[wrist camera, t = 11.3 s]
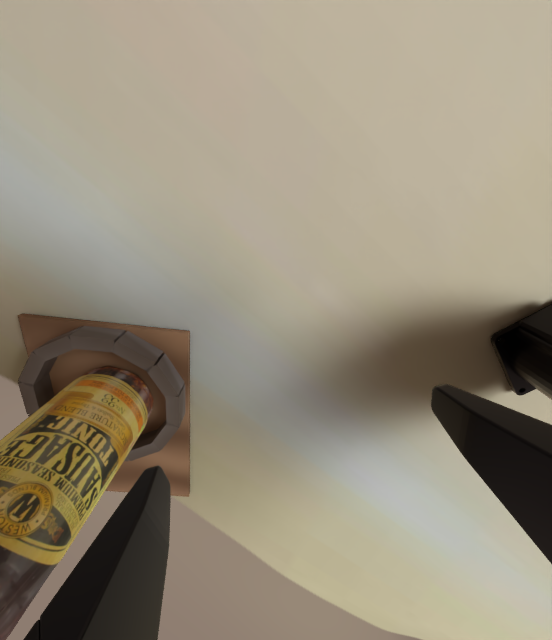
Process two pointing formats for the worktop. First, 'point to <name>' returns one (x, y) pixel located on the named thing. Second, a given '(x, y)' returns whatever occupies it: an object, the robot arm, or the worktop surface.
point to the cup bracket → (129, 354)
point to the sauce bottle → (61, 476)
